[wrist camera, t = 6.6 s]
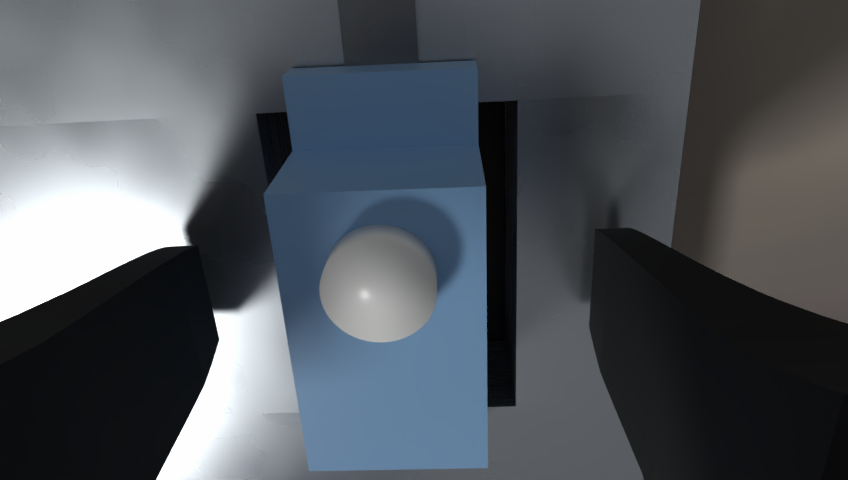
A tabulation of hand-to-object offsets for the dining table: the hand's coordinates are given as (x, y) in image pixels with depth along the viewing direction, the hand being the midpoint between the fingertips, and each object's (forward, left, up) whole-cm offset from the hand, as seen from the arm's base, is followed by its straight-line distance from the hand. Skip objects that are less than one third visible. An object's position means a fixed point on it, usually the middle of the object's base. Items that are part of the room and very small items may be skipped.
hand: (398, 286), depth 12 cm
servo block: (0, 0, -3) cm, 3 cm away
